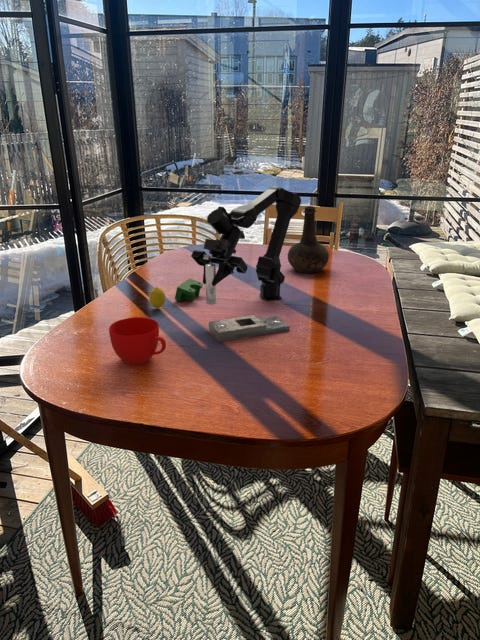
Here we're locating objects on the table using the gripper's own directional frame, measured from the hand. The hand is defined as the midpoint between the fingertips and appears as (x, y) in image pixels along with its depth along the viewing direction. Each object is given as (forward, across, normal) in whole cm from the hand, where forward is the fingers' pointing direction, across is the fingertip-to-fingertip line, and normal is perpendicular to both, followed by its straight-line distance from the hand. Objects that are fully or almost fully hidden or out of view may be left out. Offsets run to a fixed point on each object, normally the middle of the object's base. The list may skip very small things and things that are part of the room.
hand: (208, 284), depth 148 cm
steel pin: (+4, 0, +6) cm, 7 cm away
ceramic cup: (+32, +1, -13) cm, 34 cm away
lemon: (+9, -23, +10) cm, 27 cm away
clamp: (-2, -21, +21) cm, 30 cm away
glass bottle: (-42, -1, +63) cm, 76 cm away
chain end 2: (+6, +15, +13) cm, 21 cm away
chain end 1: (+10, +11, +9) cm, 18 cm away
